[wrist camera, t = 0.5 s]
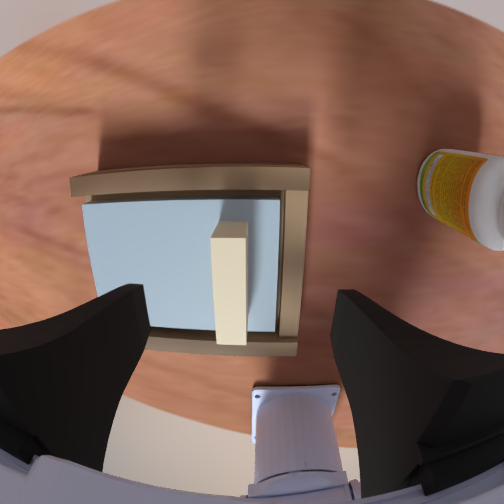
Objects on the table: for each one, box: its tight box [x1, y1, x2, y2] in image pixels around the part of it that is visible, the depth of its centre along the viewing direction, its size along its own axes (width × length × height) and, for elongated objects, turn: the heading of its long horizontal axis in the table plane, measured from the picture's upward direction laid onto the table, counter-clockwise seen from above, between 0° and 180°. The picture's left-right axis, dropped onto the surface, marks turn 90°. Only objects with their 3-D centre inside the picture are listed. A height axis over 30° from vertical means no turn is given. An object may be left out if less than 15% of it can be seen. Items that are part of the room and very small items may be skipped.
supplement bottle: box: [417, 149, 504, 251], centre depth 14 cm, size 5×5×10 cm
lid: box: [82, 196, 280, 345], centre depth 17 cm, size 8×12×4 cm
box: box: [70, 163, 310, 357], centre depth 19 cm, size 12×14×4 cm
